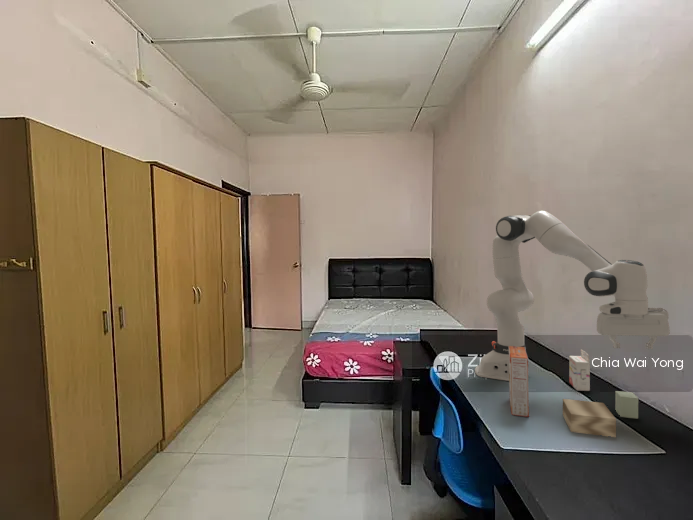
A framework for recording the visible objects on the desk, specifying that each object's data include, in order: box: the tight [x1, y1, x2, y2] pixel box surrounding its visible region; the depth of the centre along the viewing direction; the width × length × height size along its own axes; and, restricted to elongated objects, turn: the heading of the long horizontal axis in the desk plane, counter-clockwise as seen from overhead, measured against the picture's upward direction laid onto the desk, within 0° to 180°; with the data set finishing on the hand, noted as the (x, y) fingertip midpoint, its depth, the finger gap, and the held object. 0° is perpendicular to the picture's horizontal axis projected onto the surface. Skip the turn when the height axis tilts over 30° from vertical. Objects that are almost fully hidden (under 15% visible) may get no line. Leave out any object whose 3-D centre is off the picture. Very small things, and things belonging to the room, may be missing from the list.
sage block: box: [614, 390, 639, 419], centre depth 128 cm, size 5×5×7 cm
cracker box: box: [508, 346, 530, 418], centre depth 135 cm, size 14×6×21 cm, turn 159°
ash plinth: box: [562, 398, 617, 438], centre depth 122 cm, size 12×12×6 cm
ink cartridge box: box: [568, 349, 591, 392], centre depth 153 cm, size 9×5×15 cm, turn 168°
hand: (632, 348), depth 127 cm, fingers open, 8 cm apart
